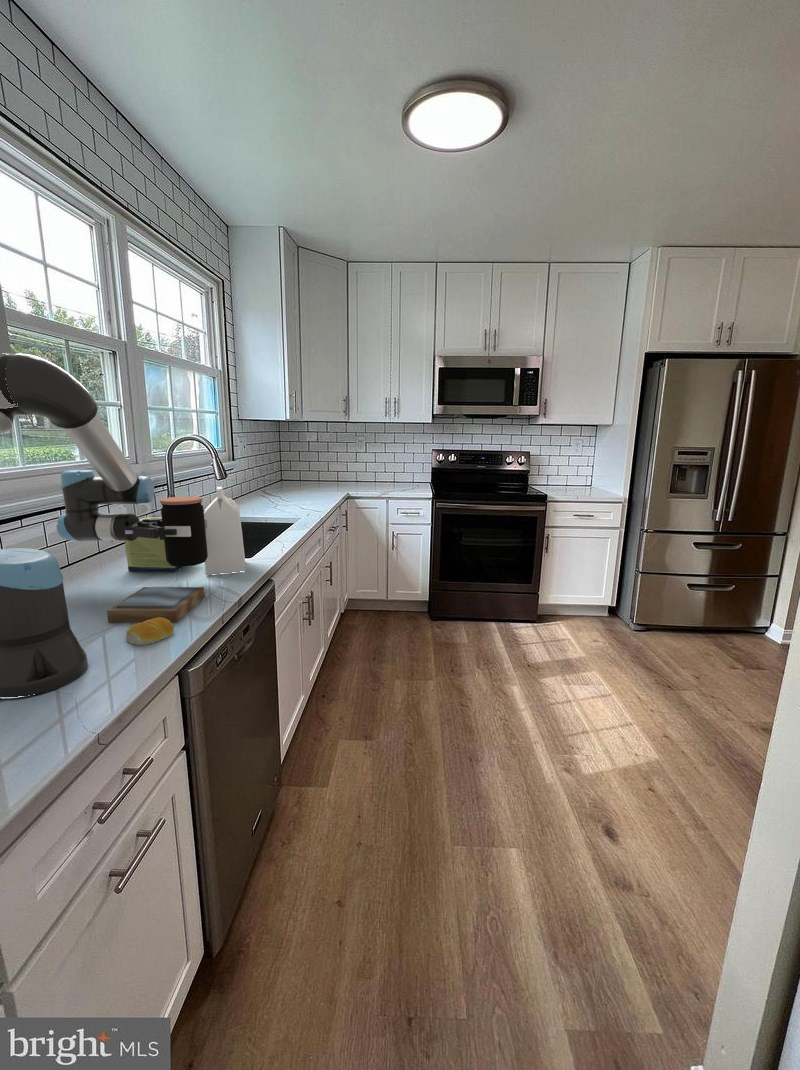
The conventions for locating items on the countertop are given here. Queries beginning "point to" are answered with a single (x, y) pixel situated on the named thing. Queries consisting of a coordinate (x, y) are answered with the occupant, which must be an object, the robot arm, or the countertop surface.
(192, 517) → the coffee jar
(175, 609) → the plinth
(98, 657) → the countertop surface
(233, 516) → the milk
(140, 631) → the bread roll
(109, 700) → the countertop surface
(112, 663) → the countertop surface
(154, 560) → the protein box
